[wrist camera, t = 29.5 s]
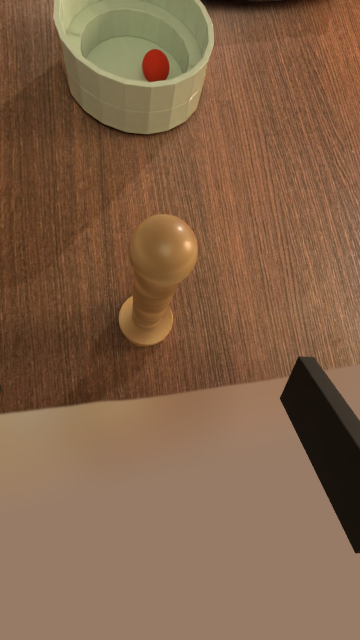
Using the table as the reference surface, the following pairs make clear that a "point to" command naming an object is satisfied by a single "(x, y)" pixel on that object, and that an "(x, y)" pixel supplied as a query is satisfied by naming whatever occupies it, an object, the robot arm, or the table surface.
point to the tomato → (155, 66)
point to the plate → (263, 0)
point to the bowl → (134, 59)
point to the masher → (156, 277)
